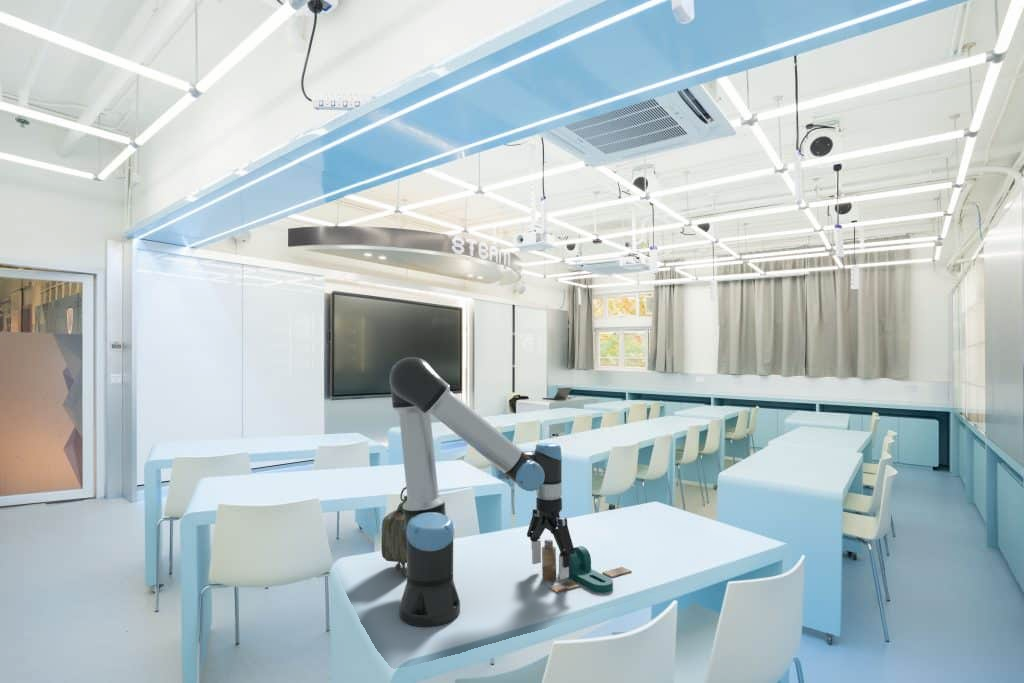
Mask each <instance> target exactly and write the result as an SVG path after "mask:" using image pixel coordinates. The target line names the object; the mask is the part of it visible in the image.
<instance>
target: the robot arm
mask: <svg viewBox="0 0 1024 683" xmlns="http://www.w3.org/2000/svg"><path fill="white" fill-rule="evenodd" d="M388 378H389V379H388V381H389V385H390V393H391V402H392V403H391V404H392V410H395V412H396V413H398V416H399V426H400V427H399V428H400V436H401V437H400V438H401V447H402V448H401V449H402V458H403V469H404V478H405V487H406V489H405V490H406V496H407V501H406V502H405V503H404V505H403V516H404V533H405V537H406V545H407V563H406V571H407V576H406V584H405V587H404V591H403V593H402V597H401V600H400V603H399V615H398V616H399V619H400V620H401V621H402V622H404V623H405V624H408V625H410V626H411V625H412V626H416V627H426V628H427V627H436V626H441V625H444V624H447V623H450V622H452V621H454V620H455V619H456V618H457V617H458V616H459V615H460V613H461V600H460V598H459V594H458V591H457V587H456V584H455V581H454V536H455V528H454V522H453V519H452V518H451V517H450V516H448V515H447V512H446V502H445V499H444V498H443V497H442V496H440V495H439V486H438V478H437V477H438V476H437V468H436V456H435V446H434V437H433V426H432V416H431V415H433V416H434V418H436V419H437V420H438V421H439V422H441V423H442V424H444V425H445V426H446V427H447V428H448V429H449V430H451V432H453V433H454V434H456V435H457V436H458V437H459V438H460V439H462V440H463V441H464V442H465V443H467V445H469V446H470V447H471V448H473V449H474V450H475V451H476V452H478V453H479V454H480V455H481V456H482V457H483V458H485V459H486V460H488V461H489V462H490V463H491V464H492V465H493V466H495V468H494V469H495V475H496V477H497V478H498V479H499V480H506V481H507V480H511V481H512V482H514V483H515V484H516V485H517V486H518V487H519V488H520V489H522V490H523V491H526V492H534V491H535V494H536V504H535V506H536V507H535V508H533V509H532V516H531V520H530V523H529V526H528V529H527V532H526V536H527V538H529V539H530V541H531V564H532V565H536V564H540V563H541V564H542V542H541V541H542V540H541V536H542V534H543V533H544V531H545V530H548V531H549V532H550V534H552V535H553V539H555V543H556V546H557V547H558V550H559V552H561V554H560V553H559V555H558V570H559V569H560V574H559V580H565V579H569V578H568V577H569V565H570V564H569V556H570V555H572V554H574V553H575V551H574V548H575V547H574V544H573V541H572V537H571V534H570V530H569V527H568V519H567V517H560V512H562V510H563V498H562V495H563V494H562V493H563V492H562V486H563V485H562V483H563V482H562V477H563V476H562V475H563V474H562V472H563V471H562V470H563V469H562V466H563V465H562V464H563V463H562V462H563V459H562V458H563V457H562V448H561V445H560V444H558V443H556V442H539V443H537V444H536V445H535V449H534V450H531V451H522V449H520V448H519V447H518V446H517V445H515V444H514V443H513V442H512V441H511V440H510V439H508V438H507V437H506V436H505V435H504V434H502V433H501V432H500V431H499V430H498V429H497V428H495V426H493V425H492V424H491V423H489V422H488V421H487V420H486V419H484V418H483V417H482V416H481V415H480V414H478V413H477V412H476V411H475V410H473V409H472V408H471V407H470V406H469V405H468V404H467V403H466V402H464V401H463V400H462V399H460V398H459V397H458V396H457V395H456V394H455V393H453V391H451V388H450V387H451V386H450V384H449V383H448V382H446V380H444V379H443V378H442V377H441V376H440V375H439V374H438V373H437V372H436V371H435V369H434V368H433V367H432V365H430V364H429V362H427V361H426V360H424V359H423V358H421V357H415V356H410V357H409V356H408V357H405V358H404V357H403V358H402V359H399V360H398V361H397V362H396V363H394V365H393V366H392V367H391V370H390V372H389V377H388ZM564 550H565V551H564Z"/></svg>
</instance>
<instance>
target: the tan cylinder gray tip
mask: <svg viewBox="0 0 1024 683" xmlns="http://www.w3.org/2000/svg"><path fill="white" fill-rule="evenodd" d="M553 542H554V541H553V539H552V540H551V539H544V546H541V566H542V567H541V568H542V574H541V575H542V581H543V582H545V583H554V582H555V581H557V554H556V553H557V551H556V550H557V548H556V546H554V543H553Z"/></svg>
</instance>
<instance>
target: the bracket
mask: <svg viewBox="0 0 1024 683" xmlns="http://www.w3.org/2000/svg"><path fill="white" fill-rule="evenodd" d="M564 551H565V550H564ZM574 551H575V553H574V554H572V555H570V556H569V564H570V565H569V577H568V578H567V579H569V581H572V582H574V583H576V584H578V585H580V586H582V587H584V588H586V589H588V590H589V591H592V592H594V593H598V594H599V593H600V594H606V593H610V592H612V591H613V590H614V580H613V578H611V577H609V576H607V575H605V574H603V573H600V572H598V571H596V570H594V569H592V557H591V554H590V552H589V550H588V549H587V548H586V547H585V546H583V545H579V546H576V547H574ZM559 552H560V551H559ZM560 554H561V552H560V553H559V555H560ZM558 574H559V575H560V569H559V568H558Z"/></svg>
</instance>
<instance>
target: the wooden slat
mask: <svg viewBox="0 0 1024 683" xmlns="http://www.w3.org/2000/svg"><path fill="white" fill-rule="evenodd" d="M632 572H633V571H632V570H631V569H628V568H626V567H624V566H621V567H616V568H614V569H613V568H612V569H609V570H605V571H603V572H602V574H603V575H605V576H607V577H609V578H611V579H613V578H617V577H620V576H623V575H627V574H630V573H632ZM578 588H581V585H580V584H578V583H576V582H574V581H572V580H569V581H565V582H561V583H558V584H554V585H551V586H548V589H549V590H550V591H552V592H554V593H556V594H560V593H563V592H568V591H571V590H574V589H578Z"/></svg>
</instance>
